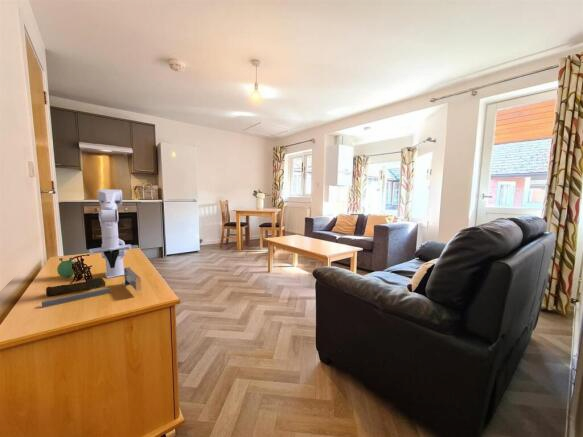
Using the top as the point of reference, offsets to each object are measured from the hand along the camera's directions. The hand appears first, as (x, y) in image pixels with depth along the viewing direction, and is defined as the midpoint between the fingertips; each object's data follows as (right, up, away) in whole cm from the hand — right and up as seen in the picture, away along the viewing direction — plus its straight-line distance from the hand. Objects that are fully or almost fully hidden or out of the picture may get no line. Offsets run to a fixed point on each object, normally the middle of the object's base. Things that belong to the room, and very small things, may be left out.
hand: (112, 267), depth 106 cm
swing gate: (+10, -9, -1) cm, 13 cm away
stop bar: (-5, -10, -11) cm, 16 cm away
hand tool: (-13, -10, -2) cm, 17 cm away
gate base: (+3, -9, +6) cm, 11 cm away
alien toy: (-33, -8, +15) cm, 37 cm away
